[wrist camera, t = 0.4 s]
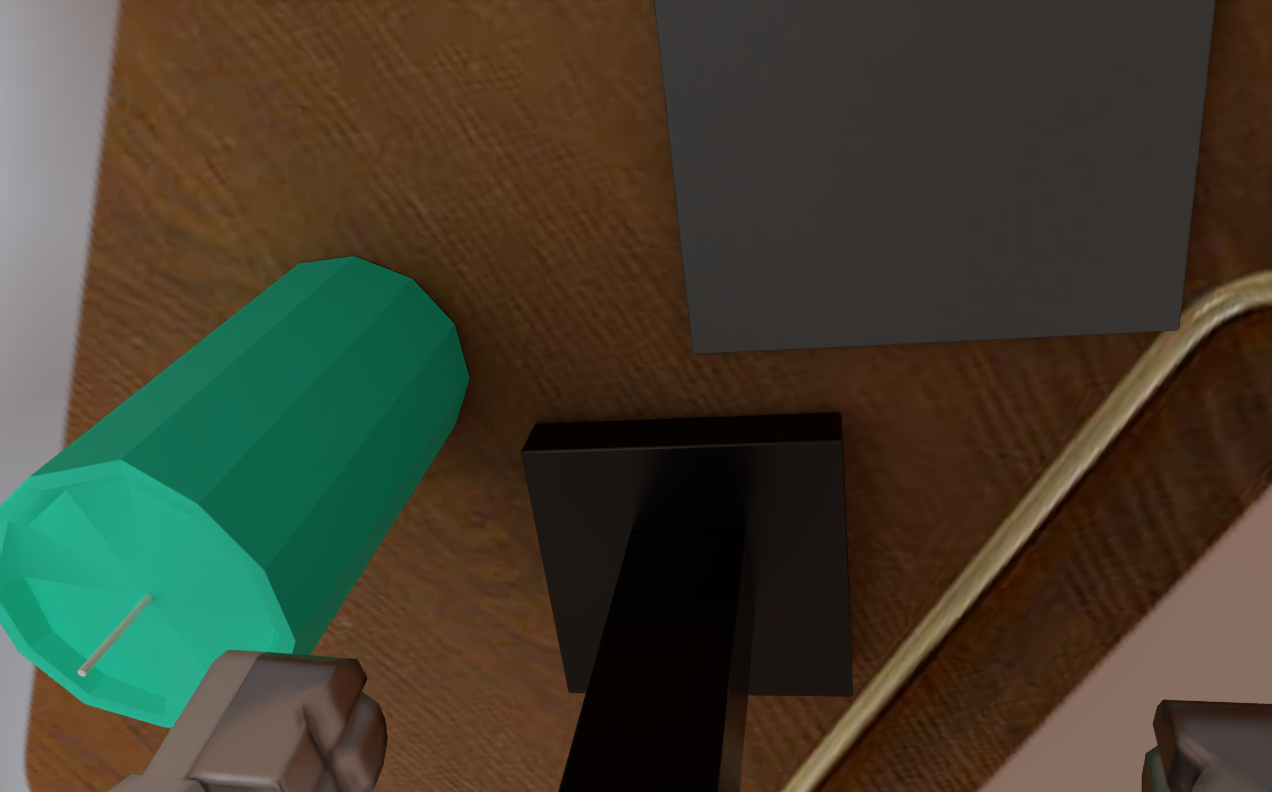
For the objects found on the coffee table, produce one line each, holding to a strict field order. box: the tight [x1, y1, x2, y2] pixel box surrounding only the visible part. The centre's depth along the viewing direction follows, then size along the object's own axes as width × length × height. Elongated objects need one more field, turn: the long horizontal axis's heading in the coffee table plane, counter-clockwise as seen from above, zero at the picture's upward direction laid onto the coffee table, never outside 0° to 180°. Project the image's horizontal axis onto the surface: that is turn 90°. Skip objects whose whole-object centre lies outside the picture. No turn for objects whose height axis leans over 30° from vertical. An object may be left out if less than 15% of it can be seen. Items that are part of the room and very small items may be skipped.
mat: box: [654, 0, 1216, 354], centre depth 23 cm, size 10×11×1 cm
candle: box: [0, 256, 470, 728], centre depth 23 cm, size 6×6×12 cm
